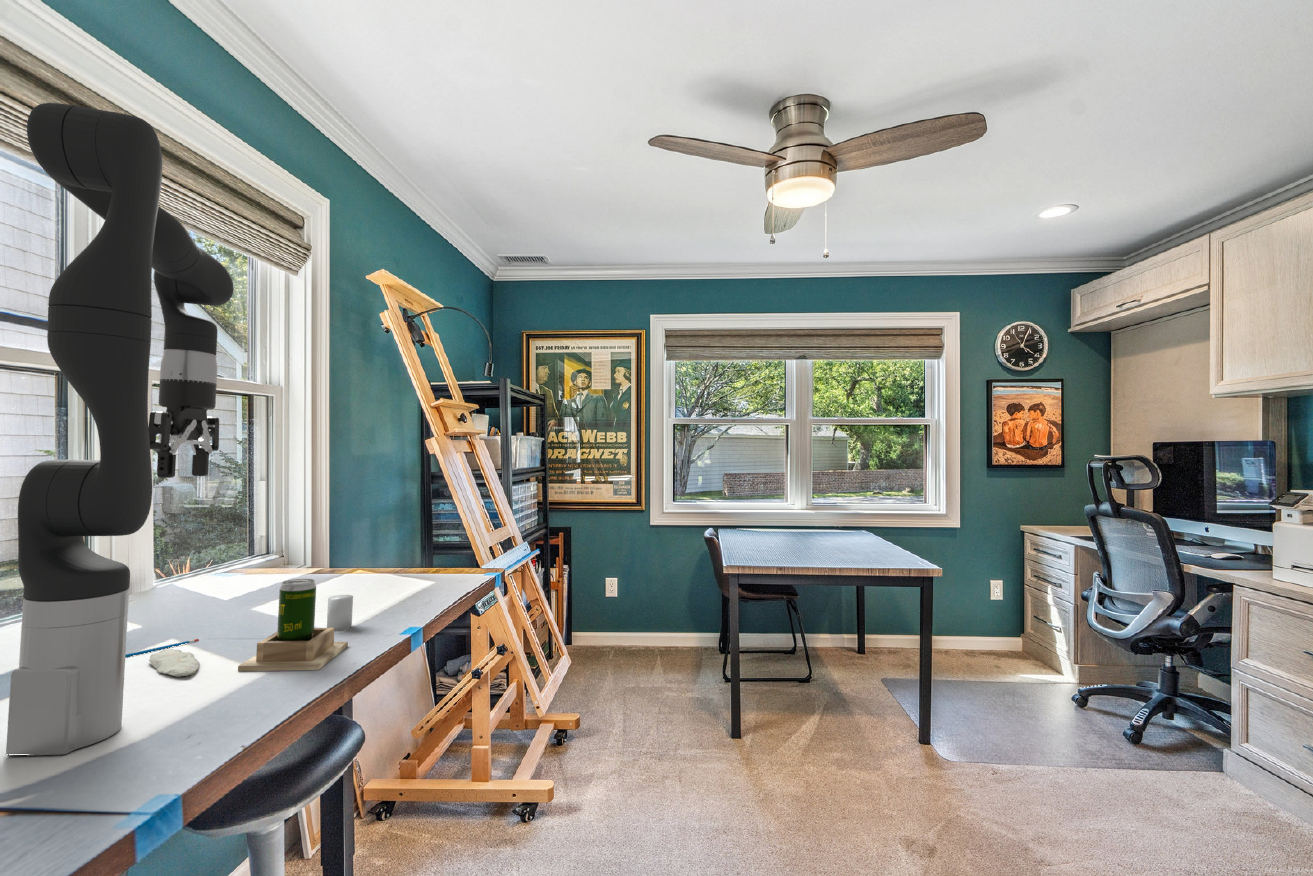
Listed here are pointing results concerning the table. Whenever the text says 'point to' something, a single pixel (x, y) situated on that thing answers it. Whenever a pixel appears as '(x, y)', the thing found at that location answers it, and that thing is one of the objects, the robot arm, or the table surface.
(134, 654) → the pencil
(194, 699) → the table surface
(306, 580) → the beer can
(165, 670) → the stone tool
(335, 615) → the short post
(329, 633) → the socket
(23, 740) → the robot arm
